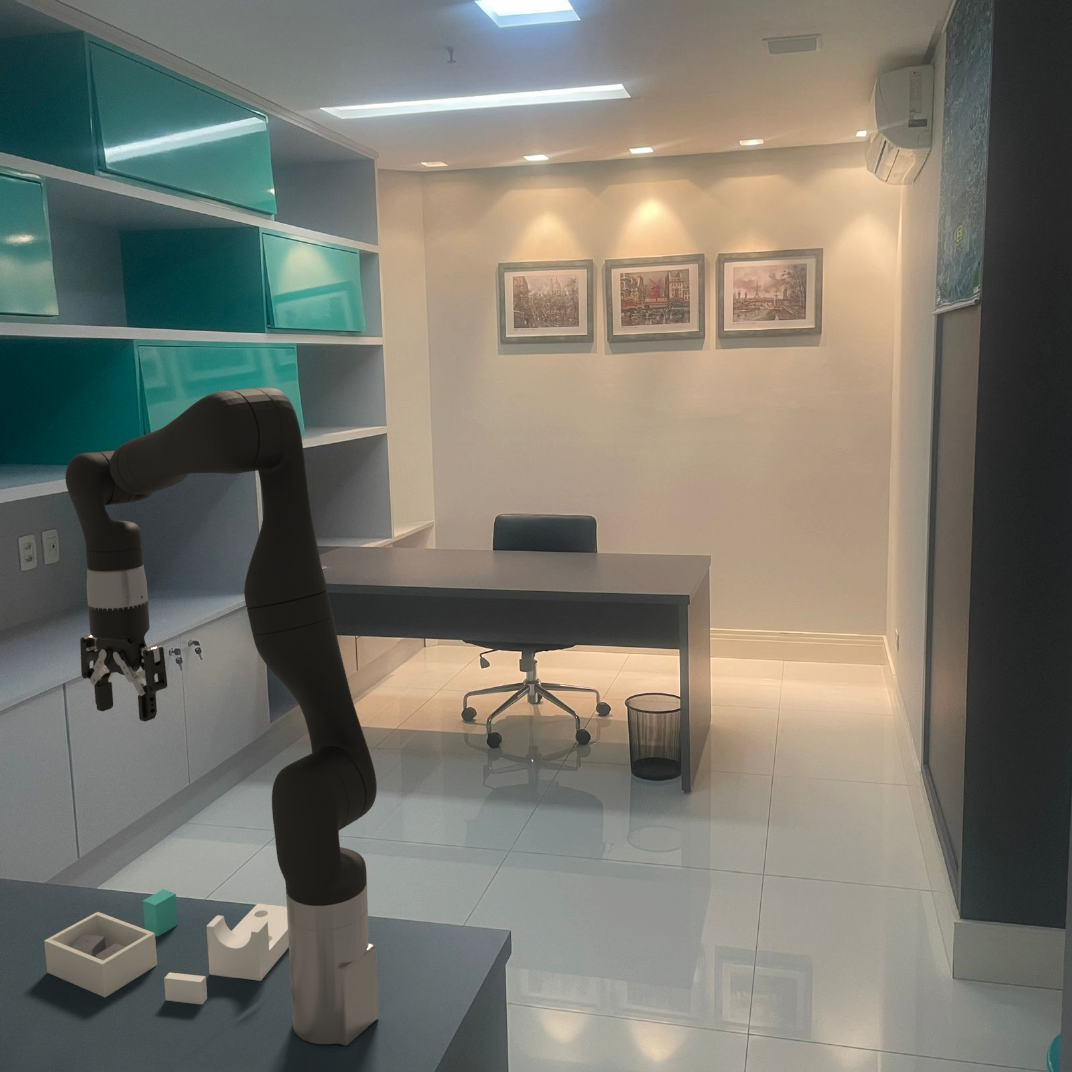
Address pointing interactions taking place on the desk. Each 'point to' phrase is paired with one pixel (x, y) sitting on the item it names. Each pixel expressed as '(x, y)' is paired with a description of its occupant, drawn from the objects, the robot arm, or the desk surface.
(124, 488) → the robot arm
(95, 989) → the tub
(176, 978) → the eraser
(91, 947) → the block
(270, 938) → the bracket
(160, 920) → the lid
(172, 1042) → the desk surface
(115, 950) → the block
